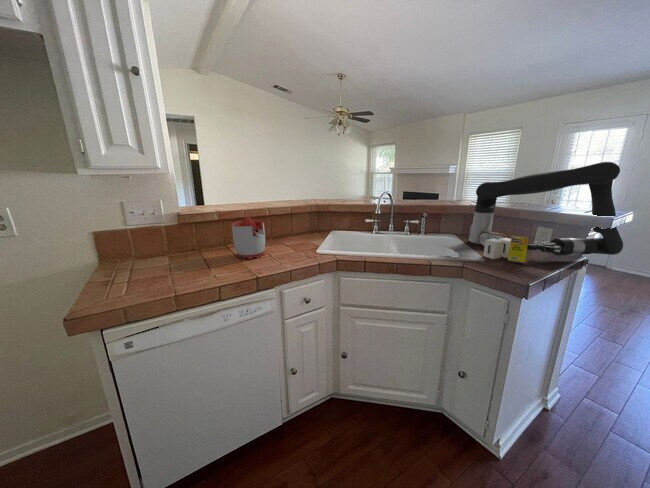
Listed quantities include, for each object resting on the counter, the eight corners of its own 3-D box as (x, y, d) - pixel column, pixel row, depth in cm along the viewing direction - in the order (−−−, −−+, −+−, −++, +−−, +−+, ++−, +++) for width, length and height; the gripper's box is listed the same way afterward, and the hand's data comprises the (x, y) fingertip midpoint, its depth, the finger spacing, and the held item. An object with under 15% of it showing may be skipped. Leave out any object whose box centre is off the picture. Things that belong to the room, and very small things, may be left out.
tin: (510, 251, 129) (513, 234, 126) (507, 252, 127) (510, 235, 125) (479, 244, 141) (481, 229, 139) (476, 245, 139) (478, 230, 137)
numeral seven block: (495, 254, 123) (498, 238, 121) (503, 253, 125) (506, 237, 122) (505, 258, 118) (508, 241, 116) (513, 256, 120) (516, 240, 118)
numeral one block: (482, 256, 122) (485, 239, 119) (490, 254, 123) (493, 238, 121) (492, 259, 117) (495, 242, 115) (500, 257, 119) (503, 241, 117)
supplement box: (524, 264, 109) (529, 240, 107) (507, 262, 113) (511, 238, 110) (523, 260, 114) (528, 237, 111) (507, 258, 117) (511, 235, 115)
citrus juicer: (250, 263, 116) (245, 220, 111) (228, 257, 127) (223, 217, 121) (276, 255, 128) (273, 215, 123) (254, 249, 139) (250, 212, 133)
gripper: (555, 234, 117) (517, 235, 117) (583, 242, 104) (540, 242, 104) (552, 250, 119) (514, 250, 119) (579, 259, 106) (537, 260, 106)
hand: (527, 247), depth 112 cm, fingers closed
